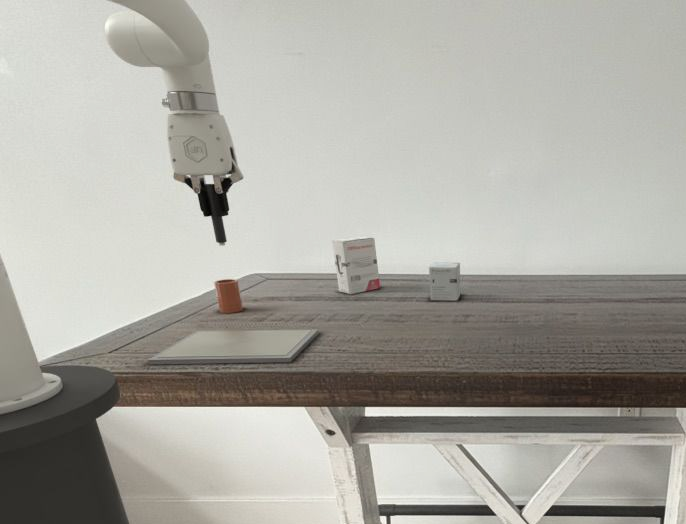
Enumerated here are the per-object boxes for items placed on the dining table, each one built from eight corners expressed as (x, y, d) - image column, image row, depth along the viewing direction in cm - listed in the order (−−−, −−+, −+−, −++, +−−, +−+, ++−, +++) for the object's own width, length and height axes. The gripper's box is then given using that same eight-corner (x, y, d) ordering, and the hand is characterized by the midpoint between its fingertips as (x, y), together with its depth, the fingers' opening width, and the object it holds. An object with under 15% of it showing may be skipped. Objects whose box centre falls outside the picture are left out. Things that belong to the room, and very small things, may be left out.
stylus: (225, 245, 105) (212, 184, 101) (215, 245, 105) (202, 184, 101) (229, 244, 107) (217, 183, 103) (219, 244, 107) (207, 183, 103)
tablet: (290, 362, 84) (289, 356, 83) (149, 364, 83) (147, 358, 83) (318, 333, 98) (318, 328, 97) (197, 335, 97) (196, 330, 97)
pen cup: (238, 313, 111) (232, 283, 109) (216, 313, 111) (210, 283, 109) (246, 307, 115) (241, 279, 113) (225, 308, 115) (219, 279, 113)
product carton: (430, 300, 120) (428, 266, 117) (434, 294, 126) (432, 261, 123) (458, 301, 120) (456, 266, 117) (461, 294, 126) (460, 261, 123)
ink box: (368, 285, 135) (363, 235, 130) (380, 288, 132) (376, 237, 127) (337, 291, 129) (330, 239, 124) (349, 294, 126) (343, 241, 121)
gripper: (135, 104, 93) (162, 218, 100) (231, 104, 94) (251, 217, 101) (160, 108, 100) (183, 214, 107) (248, 107, 101) (266, 213, 108)
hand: (216, 215), depth 104 cm, fingers closed on stylus, 2 cm apart
